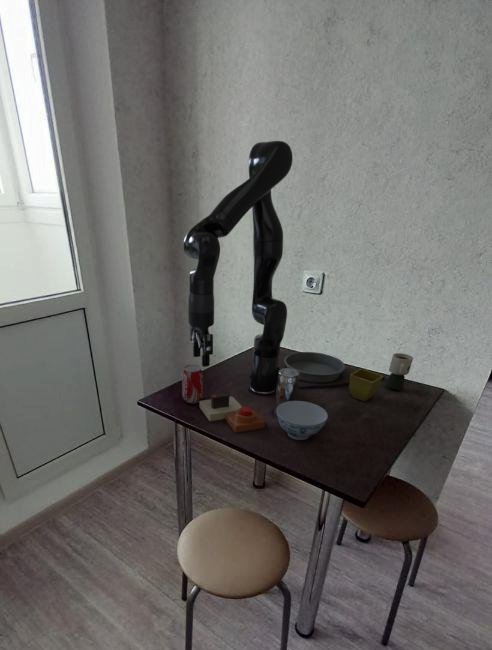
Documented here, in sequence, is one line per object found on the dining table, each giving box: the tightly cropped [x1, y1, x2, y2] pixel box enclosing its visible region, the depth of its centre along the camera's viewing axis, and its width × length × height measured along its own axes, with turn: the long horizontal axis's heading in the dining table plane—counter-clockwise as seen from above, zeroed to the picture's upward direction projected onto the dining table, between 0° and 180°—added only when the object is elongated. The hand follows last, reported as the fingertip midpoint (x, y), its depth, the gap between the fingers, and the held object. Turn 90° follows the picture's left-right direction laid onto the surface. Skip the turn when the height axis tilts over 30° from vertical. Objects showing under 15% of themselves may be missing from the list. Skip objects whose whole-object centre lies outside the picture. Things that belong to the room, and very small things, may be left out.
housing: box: [225, 409, 266, 433], centre depth 126 cm, size 10×8×4 cm
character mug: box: [385, 352, 414, 391], centre depth 152 cm, size 11×7×13 cm, turn 165°
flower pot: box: [348, 368, 384, 402], centre depth 145 cm, size 9×9×9 cm
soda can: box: [181, 364, 204, 404], centre depth 137 cm, size 7×7×12 cm
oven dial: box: [210, 393, 230, 409], centre depth 130 cm, size 6×2×4 cm, turn 112°
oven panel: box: [199, 396, 243, 422], centre depth 133 cm, size 12×11×3 cm
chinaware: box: [276, 400, 328, 441], centre depth 121 cm, size 15×15×8 cm
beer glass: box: [273, 367, 300, 417], centre depth 130 cm, size 7×7×15 cm
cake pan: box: [283, 351, 346, 384], centre depth 165 cm, size 25×25×4 cm
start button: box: [240, 405, 253, 416], centre depth 125 cm, size 4×4×2 cm
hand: (201, 361), depth 124 cm, fingers open, 8 cm apart
